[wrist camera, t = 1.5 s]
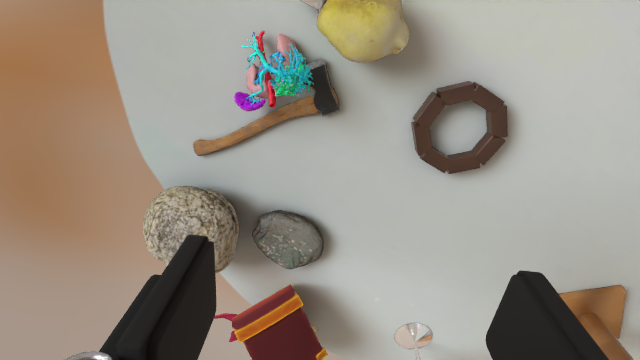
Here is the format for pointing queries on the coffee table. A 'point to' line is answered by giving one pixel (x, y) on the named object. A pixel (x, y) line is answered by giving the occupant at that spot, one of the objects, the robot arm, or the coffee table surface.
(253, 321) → the book monster
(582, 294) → the wooden peg stand
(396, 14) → the fruit
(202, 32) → the coffee table surface
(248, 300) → the coffee table surface
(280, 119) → the axe
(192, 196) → the stone
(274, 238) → the stone
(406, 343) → the wineglass
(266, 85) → the anatomy model
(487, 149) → the ring
